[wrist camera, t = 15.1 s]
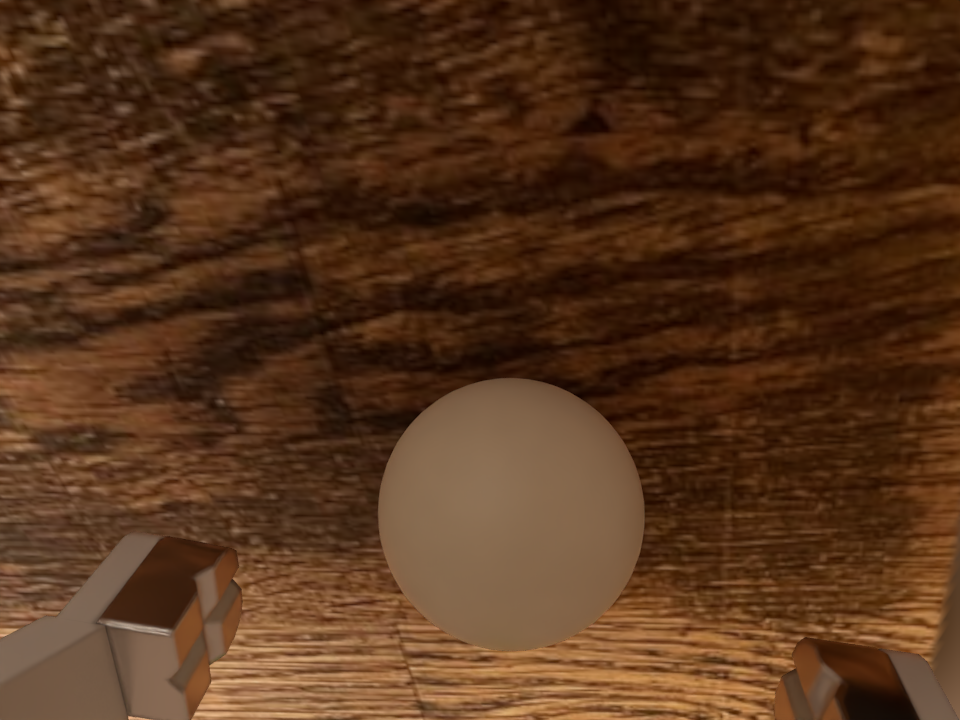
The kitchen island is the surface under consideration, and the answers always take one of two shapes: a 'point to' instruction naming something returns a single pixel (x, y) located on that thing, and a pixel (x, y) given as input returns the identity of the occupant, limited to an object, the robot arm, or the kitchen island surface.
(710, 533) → the kitchen island surface
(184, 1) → the kitchen island surface
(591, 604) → the beige ball
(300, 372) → the kitchen island surface
